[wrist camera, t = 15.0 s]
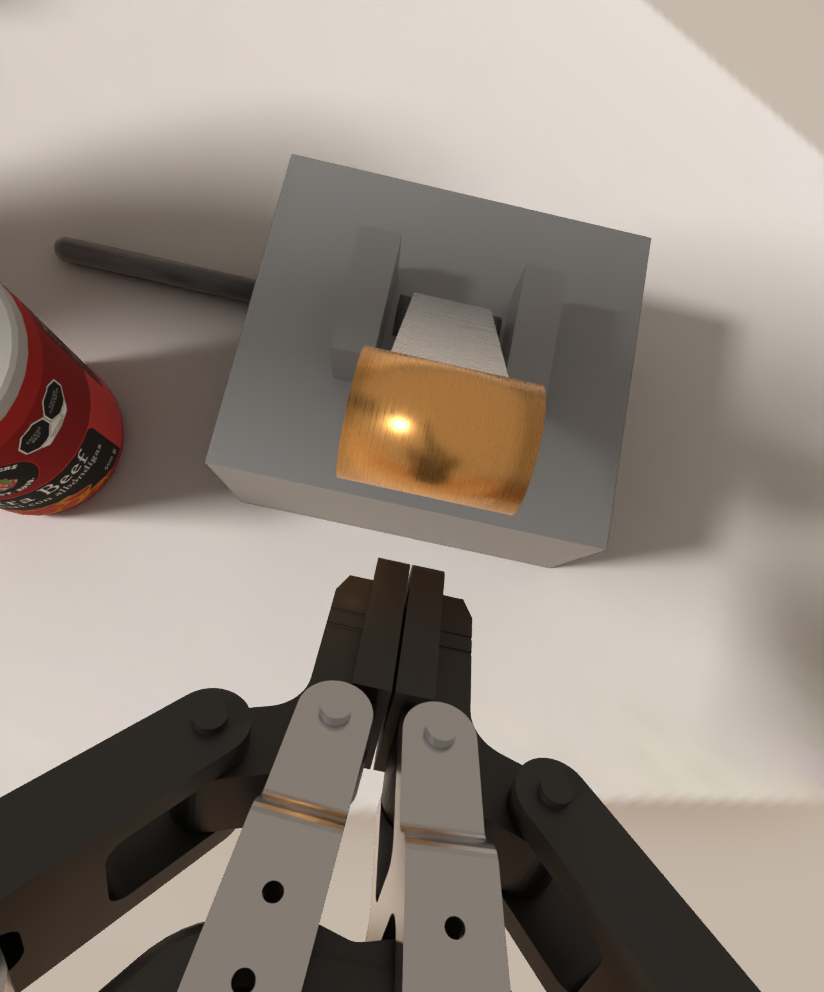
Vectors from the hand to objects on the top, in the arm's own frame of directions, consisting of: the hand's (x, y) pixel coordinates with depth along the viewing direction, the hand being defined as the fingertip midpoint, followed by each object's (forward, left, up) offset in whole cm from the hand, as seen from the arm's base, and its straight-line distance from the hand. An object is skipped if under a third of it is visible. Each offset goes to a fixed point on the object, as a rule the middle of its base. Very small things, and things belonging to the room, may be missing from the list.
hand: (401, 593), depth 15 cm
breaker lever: (0, +11, -9) cm, 14 cm away
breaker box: (-6, +11, -18) cm, 22 cm away
